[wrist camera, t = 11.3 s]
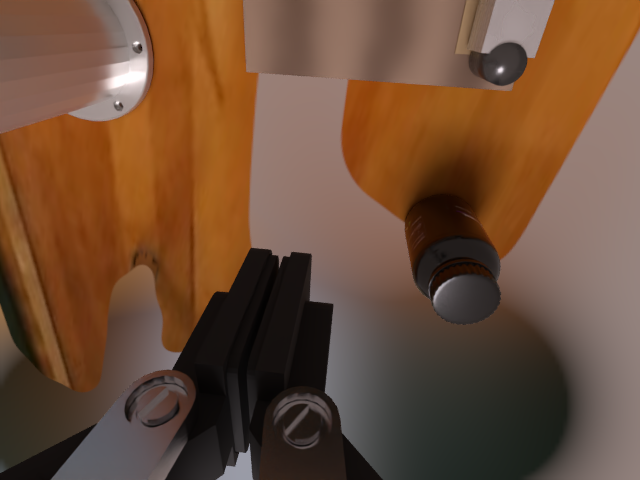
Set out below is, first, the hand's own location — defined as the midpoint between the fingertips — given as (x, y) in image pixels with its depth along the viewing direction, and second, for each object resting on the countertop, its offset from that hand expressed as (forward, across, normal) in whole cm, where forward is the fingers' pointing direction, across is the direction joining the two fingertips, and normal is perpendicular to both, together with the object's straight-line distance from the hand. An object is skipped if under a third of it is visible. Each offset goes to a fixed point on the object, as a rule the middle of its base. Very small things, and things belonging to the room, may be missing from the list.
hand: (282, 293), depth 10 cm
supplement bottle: (+25, -11, +10) cm, 29 cm away
